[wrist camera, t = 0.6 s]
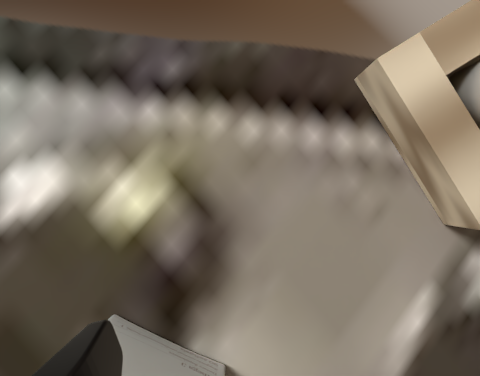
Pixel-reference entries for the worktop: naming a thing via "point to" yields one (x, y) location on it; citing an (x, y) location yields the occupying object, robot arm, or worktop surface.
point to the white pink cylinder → (469, 89)
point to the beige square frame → (433, 112)
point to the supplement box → (158, 354)
